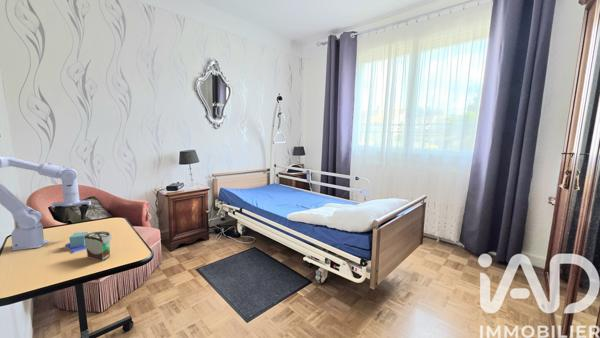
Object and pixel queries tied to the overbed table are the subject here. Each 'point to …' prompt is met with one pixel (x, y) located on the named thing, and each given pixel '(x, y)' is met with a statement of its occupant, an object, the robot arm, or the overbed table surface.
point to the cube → (77, 239)
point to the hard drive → (75, 248)
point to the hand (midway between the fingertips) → (73, 220)
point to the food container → (98, 245)
